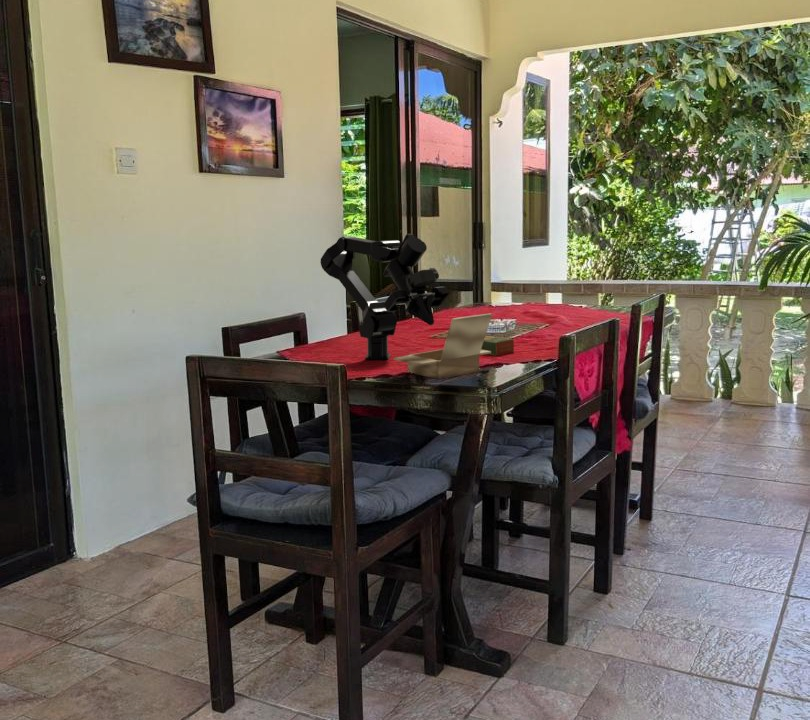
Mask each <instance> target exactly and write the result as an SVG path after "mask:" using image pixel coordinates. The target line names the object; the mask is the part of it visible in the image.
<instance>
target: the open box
mask: <svg viewBox="0 0 810 720" xmlns="http://www.w3.org/2000/svg"><path fill="white" fill-rule="evenodd" d="M442 352H443V348H440V349H435V350H430V351H429V350H428V351H423V352H418V353H417V352H416V353H411V354H407V355H403V356H397V357H393V361H398V362H402V363H407V366H406V367H407V373H409V372H411V373H410V374H413V373H414V374H413V375H419V376H423V377H428V378H432V379H436V380H441V379H446V378H452V377H457V376H462V375H467V374H472V373H477V372H480V356H483V355H489V354H490V353H491V351H487V350H481V351H480V354H477V355H472V356H466V357H460V358H455V359H449V360H444V361H441V360H440V358H441V355H442Z"/></svg>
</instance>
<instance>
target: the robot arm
mask: <svg viewBox="0 0 810 720" xmlns="http://www.w3.org/2000/svg"><path fill="white" fill-rule="evenodd" d="M427 249H428V247H427V244H426V242H425V241H423V240H422V239H420V238H418V237H416V236H415V235H414V234H413V233H406V235H405V236H404V238H403V240H402V242H401V241H400V240H397V239H393V240H370V239H366V238H360V237H356V236H353V235H351V236H350V235H349V236H341V237H339V238H338V239H337V241H336V242H335V243H334V244H332V245H331V246H330V247H328V248H327V249H326V250H325V252H324V253H323V254H322V255H321V258H320V266H321V268H322V270H323V271H324V272H325V273H326V274H327V275H328V276H329V277H332V278H334V279H336V280H338V281H339V282H340V283H341V284H342V286H343V288H344V289H345V290H346V291H347V293H348V294H349V295H350V297H351V298H352V299H353V300H354V302H355V303H356V304H357V306H358V307H359V308H360V310H361V311H362V322H363V323H362V325H361V326H360V327H359V329H358V331H359V335H360V338H366V339H367V354H366V355H365V356H364V357H365V358H364V359H365V360H389V358H390V356H391V353H389V349H388V347H389V346H388V339H389V338H388V336H395V332H396V327H397V323H398V319H397V315H396V314H395V312H397V310H398V306H397V305H405V306H406V309H405V310H404V312H405V314H406V313H407V314H408V313H409V314H410V315H412V316H413V317H416V318H418V319H419V320H420V321H422V322H423V323H426V324H427V325H428V326H433V325H434V324H435V317H434V314H433V309H432V308H438V307H440V306H441V305H442V304H444V302H445V300H446V299H447V298H448V297H449V295H450V294H451V293H450V291H449V290H448V287H446V286H436V287H435V286H433V288H432V289H431V290H430V291H429V292H426V291H428V290H429V288H430V286H429V285H430V284H433V283H436V282H437V280H439V279H440V274H439V272H438V269H436V268H435V267H429V268H428V269H421V270H419V271H417V272H416V273H414V271H413V269H412V268H413V267H415V266H416V265H417V264H418V263H419V261H420V260H421V258H422V256H424V254H425V253H426V252H427ZM356 253H357V254H361V255H366V256H369V257H370V258H371V259H372V260H374V261H375V262H378V263H388V262H389V263H388V265H387V266H384V271H383V277H385V278H386V277H390V278H391V279H392V280H393V283H395V285H396V286H395V288H394V290H392V291H391V292H390V294H389V295H388V297H387V298H386V299H385V301H378V300H377V299H376V298H375V297H374V295H373V294H372V293H371V292H370V290H369V289H368V288H367V287H366V285H365V284H364V282H363V281H362V280H361V279H360V277H359V276H358V275H357V274H356V272H355V271H354V270H353V269H354V267H353V266H354V262H353V261H354V260H355V259H356V256H355V255H356Z"/></svg>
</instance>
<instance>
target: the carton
mask: <svg viewBox="0 0 810 720" xmlns="http://www.w3.org/2000/svg"><path fill="white" fill-rule="evenodd" d="M514 347H515V341H514V338H513V339H512V338H506V337H499V336H498V337H497V336H493V335H485V338H484V341H483V345H482V348H481V350H487V351H491V353H490V356H496V355H497V356H500V354H501V355H505V354H504V353H506V354H510V353H514V351H515V350H514V349H515V348H514ZM509 352H510V353H509Z"/></svg>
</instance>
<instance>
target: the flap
mask: <svg viewBox="0 0 810 720" xmlns="http://www.w3.org/2000/svg"><path fill="white" fill-rule="evenodd" d="M492 316H493V313H489V312H488V313H483V314H482V313H481V314H475V315H474V314H473V315H467V316H462V317H454V318H451V322H450V324H449V325H450V326H449V327H448V328H449V329H448V332H447V335H446V338H445V342H444V346H443V348H442V349H443V352H442V355H441V358H440V360H441V361H444V360H449V359H455V358H460V357H466V356H472V355H477V354H480V351H481V348H482V345H483V341H484V338H485V336H487V332H488V329H489V326H490V323H491V319H492Z"/></svg>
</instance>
